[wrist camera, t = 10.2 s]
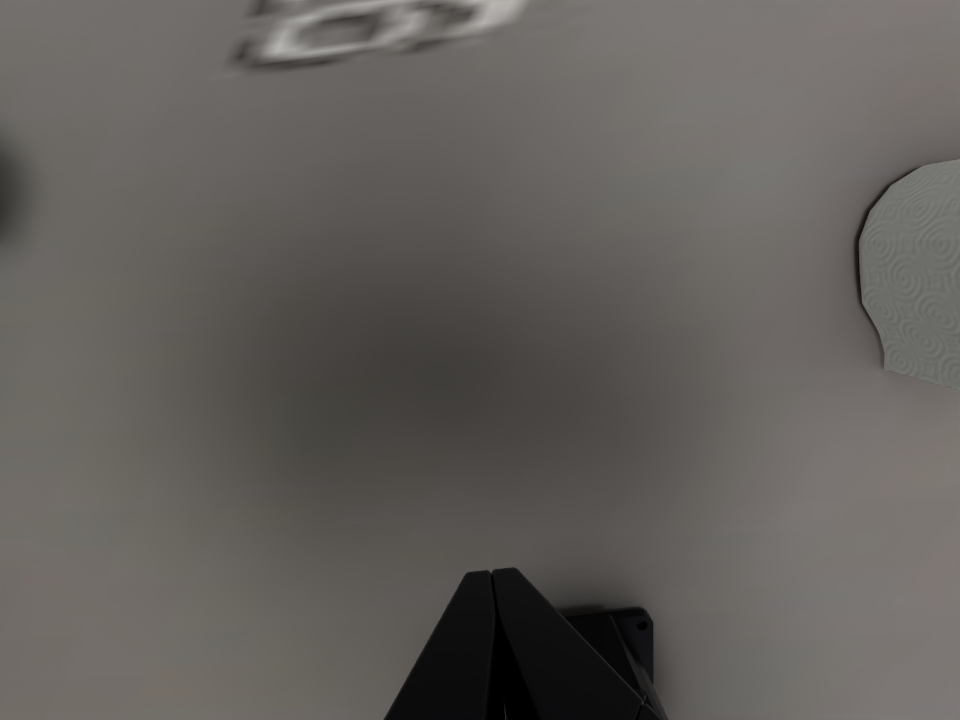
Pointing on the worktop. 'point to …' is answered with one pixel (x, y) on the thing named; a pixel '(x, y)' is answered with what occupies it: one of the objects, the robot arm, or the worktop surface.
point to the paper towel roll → (916, 273)
